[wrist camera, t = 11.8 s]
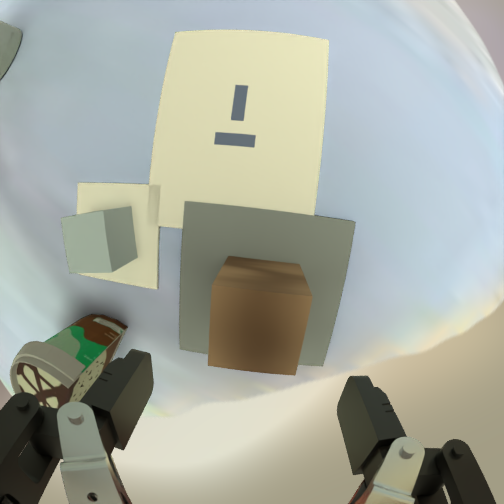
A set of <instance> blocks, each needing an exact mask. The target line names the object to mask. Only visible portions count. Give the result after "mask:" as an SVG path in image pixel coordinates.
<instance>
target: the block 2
mask: <svg viewBox="0 0 504 504" xmlns="http://www.w3.org/2000/svg"><path fill="white" fill-rule="evenodd" d="M312 298H313V296H312V294H311V291H310V289H309V286H308V284H307V281H306V279H305V276H304V274H303V271H302V269H301V266H300V264H295V263H286V262H277V261H269V260H260V259H252V258H243V257H235V256H228V257H227V259H226V261H225V263H224V264H223V266H222V268H221V270H220V271H219V273H218V275H217V277H216V278H215V280H214V282H213V284H212V291H211V308H210V327H209V349H208V366H214V367H221V368H228V369H235V370H243V371H251V372H260V373H271V374H282V375H295V374H296V370H297V366H298V362H299V358H300V353H301V349H302V345H303V340H304V336H305V331H306V327H307V322H308V317H309V313H310V308H311V303H312Z"/></svg>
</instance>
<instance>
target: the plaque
mask: <svg viewBox="0 0 504 504" xmlns="http://www.w3.org/2000/svg"><path fill="white" fill-rule="evenodd" d="M155 186H156V187H157V188H158V185H155ZM155 186H152V187H155ZM157 188H156V189H157ZM160 189H161V186H160ZM148 190H149V185H148V184H124V183H78V192H77V215H78V214H83V213H88V212H94V211H100V210H107V209H114V208H121V207H128V206H131V207H132V217H133V226H134V234H135V242H136V249H137V256H138V258H136V259H134V260H133V261H131V262H129V263H128V264H126V265H124V266H122V267H121V268H119V269H117V270H116V271H114V272H112V273H79V274H80V275H85V276H89V277H94V278H99V279H104V280H109V281H114V282H119V283H124V284H129V285H134V286H140V287H145V288H151V289H158V264H159V232H160V226H153V225H147V224H146V222H147V223H148V221H149V220H147V207H148V206H147V204H148V201H150V200H151V199H150V200H148V197H149V196H148V193H149V192H150V190H149V191H148ZM153 191H154V192H155V193H156V192H158V191H156V190H154V189H153ZM160 192H161V190H160ZM160 192H159V193H160ZM152 193H153V192H152ZM150 194H151V193H150ZM151 196H153V195H152V194H151ZM156 196H157V195H156ZM159 196H160V195H159ZM154 198H155V197H154ZM158 198H159V197H158ZM158 198H157V199H158ZM152 199H153V198H152ZM155 199H156V198H155ZM158 200H159V201H160V199H158ZM154 201H155V200H154ZM149 203H150V202H149ZM159 204H160V203H159ZM148 205H149V206H150V204H148ZM151 205H152V204H151ZM154 205H155V204H154ZM158 207H159V206H158ZM148 209H149V210H150V208H149V207H148ZM149 210H148V211H149ZM151 210H152V209H151ZM158 210H159V209H158ZM155 211H156V210H155ZM150 213H151V212H150ZM157 213H158V212H157ZM149 215H150V214H149ZM153 215H154V214H153ZM153 215H152V216H153ZM155 215H156V214H155ZM157 217H159V216H158V215H157ZM149 218H151V217H149ZM152 218H154V217H152ZM155 219H156V220H157V218H155ZM158 220H159V219H158ZM150 221H151V220H150ZM154 221H155V220H154ZM155 222H156V221H155ZM158 223H159V222H158ZM148 224H149V223H148Z"/></svg>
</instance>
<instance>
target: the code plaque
mask: <svg viewBox="0 0 504 504" xmlns="http://www.w3.org/2000/svg"><path fill="white" fill-rule="evenodd" d="M328 51H329V40H325V39H320V38H314V37H308V36H302V35H295V34H287V33H278V32H268V31H253V30H197V31H183V32H175V36H174V40H173V43H172V47H171V51H170V55H169V60H168V64H167V68H166V73H165V77H164V82H163V87H162V92H161V98H160V103H159V109H158V115H157V121H156V128H155V135H154V142H153V150H152V159H151V168H150V178H149V190H150V192H149V193H148V196H149V197H148V200H150V199H151V200H150V201H148V204H150V206H149V205H148V204H147V206H148V207H149V208H150V210H149V209H148V207H147V220H149V221H148V223H149V224H148V223H147V222H146V224H147V225H153V226H162V227H172V228H181V229H183V215H184V203H185V201H192V202H203V203H213V204H223V205H233V206H242V207H251V208H260V209H268V210H276V211H284V212H292V213H299V214H306V215H314V212H315V204H316V196H317V188H318V180H319V172H320V162H321V153H322V143H323V132H324V120H325V107H326V93H327V75H328ZM155 185H158V188H157V187H156V186H155ZM152 186H155V187H152ZM160 186H161V189H160ZM156 188H157V189H156ZM153 189H154V190H156V191H158V192H156V193H155V192H154V191H153ZM149 190H148V191H149ZM160 190H161V192H160ZM152 192H153V193H152ZM159 192H160V193H159ZM150 193H151V194H152V195H153V196H151V194H150ZM156 195H157V196H156ZM159 195H160V196H159ZM154 197H155V198H156V199H155V198H154ZM158 197H159V198H158ZM152 198H153V199H152ZM157 198H158V199H160V201H159V200H158V199H157ZM154 200H155V201H154ZM149 202H150V203H149ZM159 203H160V204H159ZM151 204H152V205H151ZM154 204H155V205H154ZM158 206H159V207H158ZM151 209H152V210H151ZM158 209H159V210H158ZM148 210H149V211H148ZM155 210H156V211H155ZM150 212H151V213H150ZM157 212H158V213H157ZM149 214H150V215H149ZM153 214H154V215H153ZM155 214H156V215H155ZM152 215H153V216H152ZM157 215H158V216H159V217H157ZM149 217H151V218H149ZM152 217H154V218H152ZM155 218H157V220H156V219H155ZM158 219H159V220H158ZM150 220H151V221H150ZM154 220H155V221H156V222H155V221H154ZM158 222H159V223H158Z"/></svg>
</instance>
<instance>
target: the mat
mask: <svg viewBox="0 0 504 504" xmlns="http://www.w3.org/2000/svg"><path fill="white" fill-rule="evenodd" d="M354 229H355V222H354V221H349V220H343V219H336V218H329V217H323V216H316V215H306V214H299V213H292V212H284V211H276V210H268V209H260V208H251V207H242V206H233V205H223V204H213V203H203V202H192V201H185V203H184V215H183V229H182V246H181V268H180V308H179V339H180V349H181V350H186V351H192V352H197V353H203V354H208V349H209V327H210V308H211V291H212V284H213V282H214V280H215V278H216V277H217V275H218V273H219V271H220V270H221V268H222V266H223V264H224V263H225V261H226V259H227V257H228V256H235V257H243V258H252V259H260V260H269V261H277V262H286V263H295V264H300V266H301V269H302V271H303V274H304V276H305V279H306V281H307V284H308V286H309V289H310V291H311V294H312V296H313V298H312V303H311V308H310V313H309V317H308V322H307V327H306V331H305V336H304V340H303V345H302V349H301V353H300V358H299V362H298V365H308V366H323V364H324V361H325V357H326V354H327V350H328V347H329V343H330V339H331V336H332V332H333V328H334V324H335V320H336V316H337V312H338V308H339V304H340V300H341V296H342V291H343V287H344V282H345V277H346V272H347V267H348V262H349V257H350V252H351V246H352V241H353V235H354Z"/></svg>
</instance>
